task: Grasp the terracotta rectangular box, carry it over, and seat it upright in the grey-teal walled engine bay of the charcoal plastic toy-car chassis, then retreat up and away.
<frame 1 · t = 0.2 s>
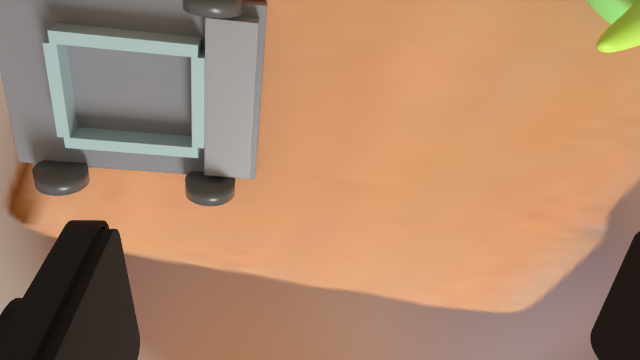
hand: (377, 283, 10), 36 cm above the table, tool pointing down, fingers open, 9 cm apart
chassis: (137, 84, 45), on the table
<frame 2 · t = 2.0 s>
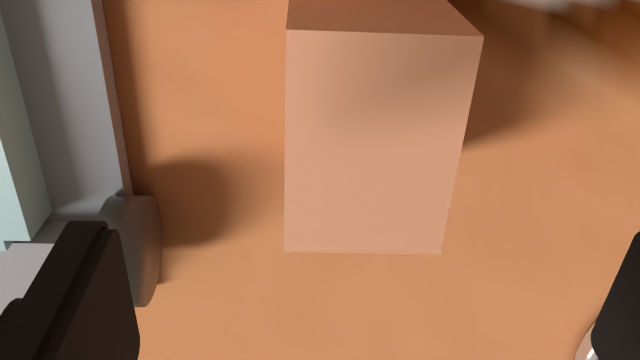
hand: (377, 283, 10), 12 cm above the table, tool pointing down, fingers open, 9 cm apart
terracotta rectangular box: (355, 81, 20), on the table
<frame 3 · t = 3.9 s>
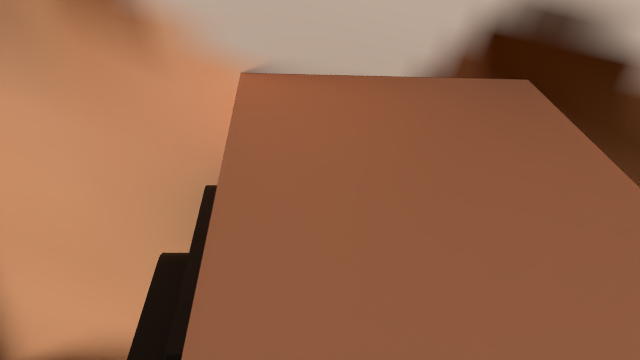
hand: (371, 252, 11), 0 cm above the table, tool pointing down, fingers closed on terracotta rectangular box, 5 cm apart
terracotta rectangular box: (368, 236, 11), on the table, touching gripper
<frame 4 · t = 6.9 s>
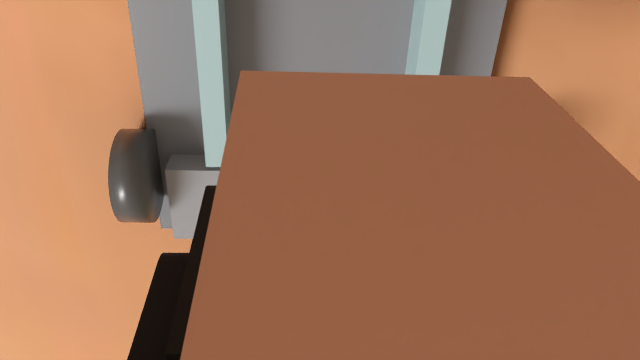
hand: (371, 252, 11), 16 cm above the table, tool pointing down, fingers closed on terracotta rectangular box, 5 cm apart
chassis: (317, 29, 24), on the table
terracotta rectangular box: (368, 235, 11), point 15 cm above the table, touching gripper
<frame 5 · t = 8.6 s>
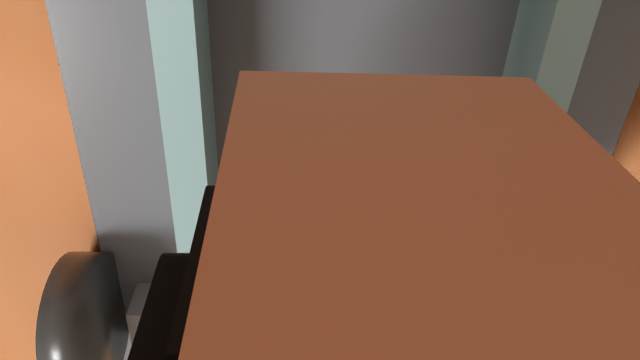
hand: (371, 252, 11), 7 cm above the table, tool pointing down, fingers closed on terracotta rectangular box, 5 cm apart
chassis: (351, 115, 16), on the table
terracotta rectangular box: (368, 236, 11), point 6 cm above the table, touching gripper
when the fingers open (3 cm above the table, at t = 10.1 s): terracotta rectangular box drops 2 cm, resting on chassis.
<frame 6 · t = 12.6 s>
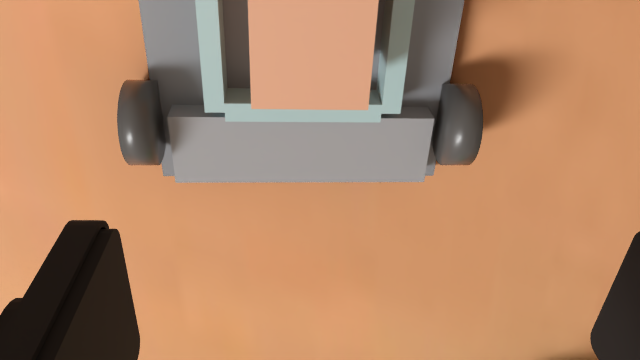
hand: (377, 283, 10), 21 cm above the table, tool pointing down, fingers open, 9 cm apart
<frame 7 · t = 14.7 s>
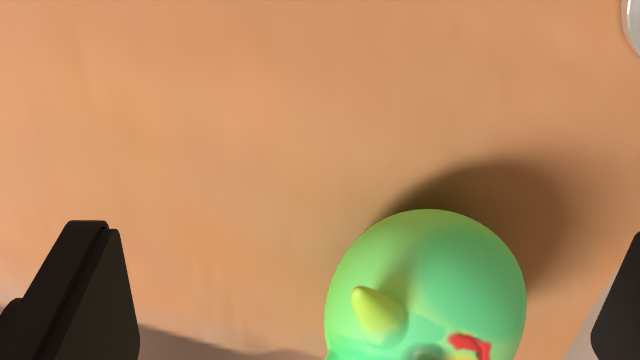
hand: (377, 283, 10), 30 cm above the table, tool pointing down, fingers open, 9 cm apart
toy bird: (398, 255, 49), on the table
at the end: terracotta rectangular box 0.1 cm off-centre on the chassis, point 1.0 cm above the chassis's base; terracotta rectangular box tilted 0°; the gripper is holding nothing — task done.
